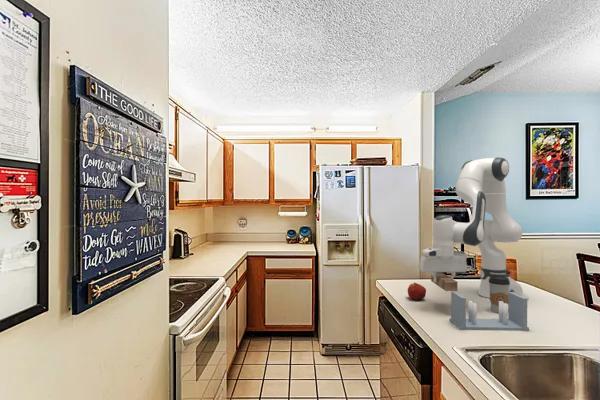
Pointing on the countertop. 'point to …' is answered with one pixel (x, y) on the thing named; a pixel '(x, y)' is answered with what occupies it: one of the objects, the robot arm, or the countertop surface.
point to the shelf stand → (509, 319)
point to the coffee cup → (498, 291)
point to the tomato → (416, 291)
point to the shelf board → (445, 282)
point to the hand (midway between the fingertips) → (443, 281)
